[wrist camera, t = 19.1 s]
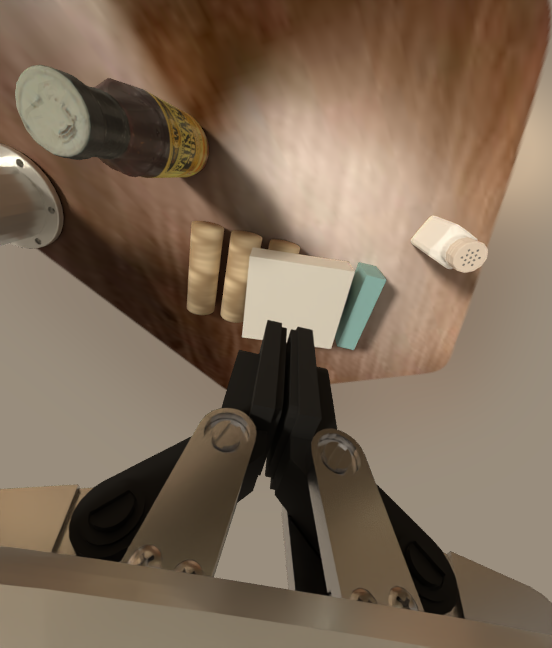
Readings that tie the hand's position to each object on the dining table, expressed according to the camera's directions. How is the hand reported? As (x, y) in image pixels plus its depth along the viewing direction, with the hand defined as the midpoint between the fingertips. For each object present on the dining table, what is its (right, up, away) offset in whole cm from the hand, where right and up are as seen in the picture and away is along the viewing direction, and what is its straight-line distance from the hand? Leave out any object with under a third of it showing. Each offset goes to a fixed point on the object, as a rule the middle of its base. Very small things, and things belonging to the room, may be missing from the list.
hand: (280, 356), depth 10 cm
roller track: (-1, +8, +29) cm, 30 cm away
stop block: (+11, +5, +30) cm, 33 cm away
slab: (+2, +5, +26) cm, 27 cm away
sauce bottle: (-11, +22, +22) cm, 33 cm away
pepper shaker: (+20, +13, +25) cm, 34 cm away
